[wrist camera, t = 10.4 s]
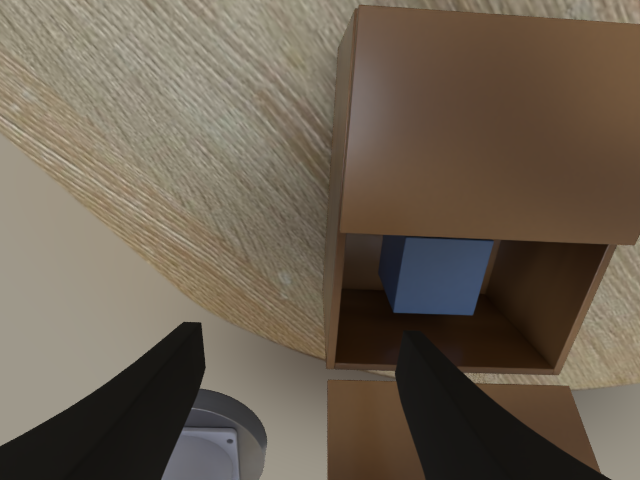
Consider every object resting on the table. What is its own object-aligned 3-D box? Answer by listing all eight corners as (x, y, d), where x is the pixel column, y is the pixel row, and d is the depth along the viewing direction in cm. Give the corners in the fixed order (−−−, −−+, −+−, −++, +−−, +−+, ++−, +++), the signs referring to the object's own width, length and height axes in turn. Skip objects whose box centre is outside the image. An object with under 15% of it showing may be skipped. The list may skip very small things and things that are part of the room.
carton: (486, 295, 23) (569, 386, 16) (322, 289, 23) (326, 380, 15) (555, 61, 17) (739, 27, 10) (338, 47, 17) (357, 1, 9)
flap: (569, 385, 16) (564, 386, 16) (327, 379, 15) (327, 380, 15) (649, 603, 12) (641, 599, 12) (327, 603, 11) (327, 599, 11)
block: (457, 213, 20) (494, 240, 16) (443, 275, 22) (473, 316, 18) (386, 209, 20) (405, 237, 16) (377, 273, 22) (392, 313, 18)
